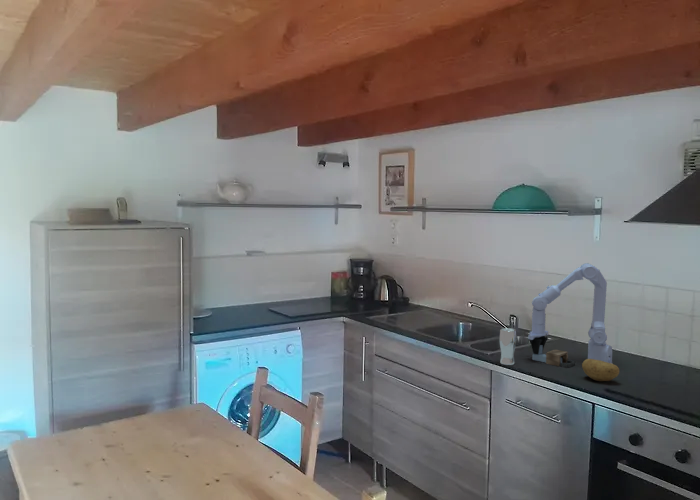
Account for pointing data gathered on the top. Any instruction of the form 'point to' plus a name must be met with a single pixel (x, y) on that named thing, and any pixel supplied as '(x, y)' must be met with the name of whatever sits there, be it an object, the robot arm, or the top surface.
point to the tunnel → (556, 357)
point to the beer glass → (507, 345)
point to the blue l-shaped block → (541, 355)
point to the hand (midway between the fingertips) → (537, 353)
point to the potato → (600, 370)
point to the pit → (567, 364)
